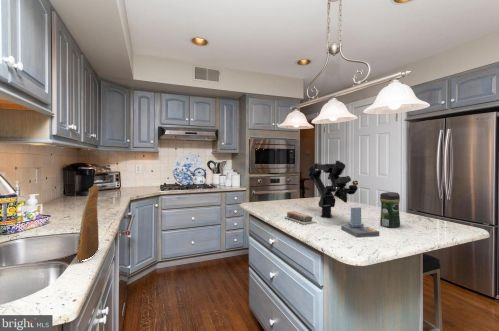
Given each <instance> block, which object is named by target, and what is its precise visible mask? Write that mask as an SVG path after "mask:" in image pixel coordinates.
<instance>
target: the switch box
mask: <svg viewBox="0 0 499 331" xmlns="http://www.w3.org/2000/svg"><path fill="white" fill-rule="evenodd" d="M340 229H341V230H342V231H344V232H346V233H347V234H349V235H351V236H353V237H355V238H365V237H367V238H368V237H379V236H380V231H379V230H377V229H374V228H372V227H370V226H367V225H365V224H364V227H351V226H349V225H348V224H345V225H344V224H343V225H341V226H340Z"/></svg>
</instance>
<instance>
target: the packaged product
mask: <svg viewBox="0 0 499 331" xmlns="http://www.w3.org/2000/svg"><path fill="white" fill-rule="evenodd" d="M287 219H288V221H289V220H291V221H290V222H292V221H294V222H293V223H295V222H296V223H295V224H298V223H299V225H301V224H302V225H301V226H306V225H307V224H308V225H313V224H317V221H316V220H313V216H311V215H308V214H305V213H301V212H299V211H295V210H293V211H287V213H286V216H285V217H284V220H287ZM308 225H307V226H308Z"/></svg>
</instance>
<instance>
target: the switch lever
mask: <svg viewBox="0 0 499 331" xmlns="http://www.w3.org/2000/svg"><path fill="white" fill-rule="evenodd" d="M347 225H349V226H351V227H364V225H365V224H364V223H362V207H361V206H353V207H350V222H348V224H347Z"/></svg>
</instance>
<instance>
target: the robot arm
mask: <svg viewBox="0 0 499 331" xmlns="http://www.w3.org/2000/svg"><path fill="white" fill-rule="evenodd" d="M345 169H346V164H345V163H344V162H341V161H340V160H335V162H334V163H321V162H317V163H316V162H315V163H313V164H312V165H311V167H309V168H308V170H307V173H306V176H307V177H308V179H309V180H310V181H312V182H313V183H314V185H315V187H316V189H317V191H318V193H319V195H320V198H319V201H318V207H319V208H321V215H320V218H329V219H330V218H332V217H333V214H332V208H334V207H335V205H336V198H338V199H339V200H341V201H342V202H343V203H345V204H347V203H348V195H355V194H356V192H357V191H358V189H359V187H358V186H357V185H356V184H350V185H348V187H346V186H347V184H349V183H350V182H352V178H351V176H349V175H346V176H341V175H342V174H343V172H344V171H345ZM322 171H323V172H322ZM322 173H325V174H328V177H327V180H330V183H331V185H326V186H325V185H324V183H323V181H322V179H321V174H322ZM333 193H334V194H333ZM335 197H336V198H335Z"/></svg>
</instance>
